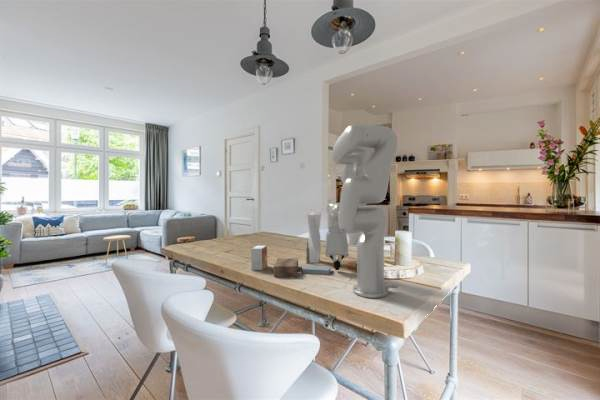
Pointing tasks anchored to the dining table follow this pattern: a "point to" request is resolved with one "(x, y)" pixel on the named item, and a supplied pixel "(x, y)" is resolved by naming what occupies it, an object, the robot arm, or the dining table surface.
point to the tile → (317, 270)
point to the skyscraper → (313, 238)
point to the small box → (258, 257)
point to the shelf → (287, 268)
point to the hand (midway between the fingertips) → (337, 269)
